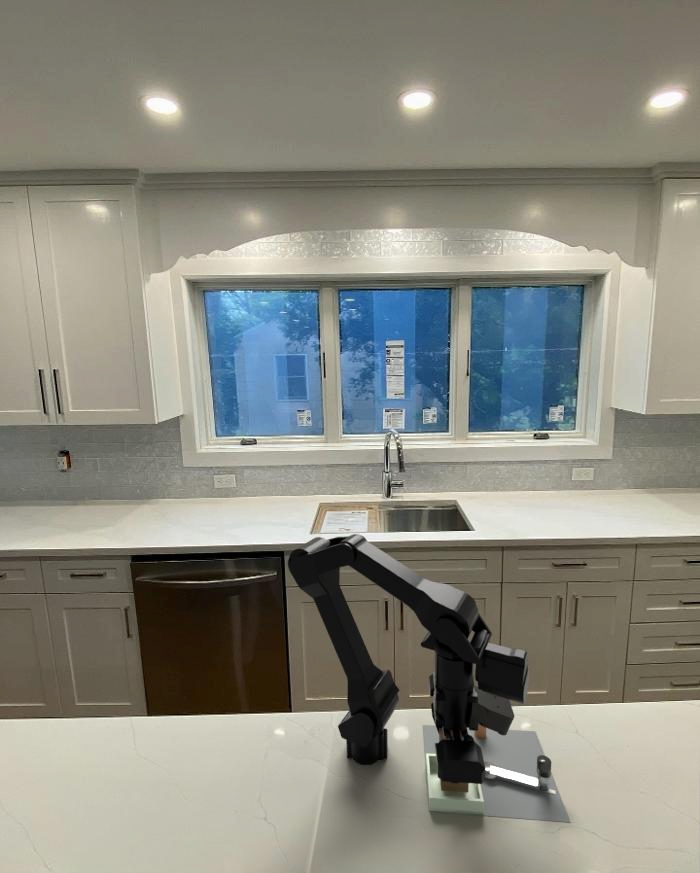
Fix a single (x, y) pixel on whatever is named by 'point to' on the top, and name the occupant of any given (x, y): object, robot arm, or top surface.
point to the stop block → (448, 785)
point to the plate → (515, 756)
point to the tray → (451, 794)
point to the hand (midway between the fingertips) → (452, 770)
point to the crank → (536, 783)
